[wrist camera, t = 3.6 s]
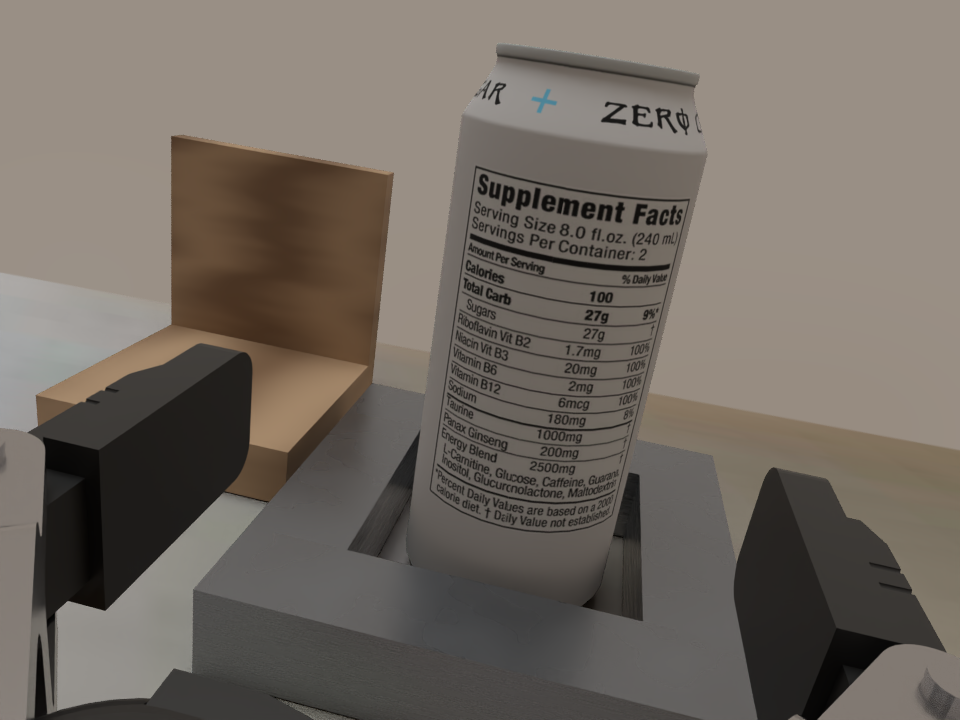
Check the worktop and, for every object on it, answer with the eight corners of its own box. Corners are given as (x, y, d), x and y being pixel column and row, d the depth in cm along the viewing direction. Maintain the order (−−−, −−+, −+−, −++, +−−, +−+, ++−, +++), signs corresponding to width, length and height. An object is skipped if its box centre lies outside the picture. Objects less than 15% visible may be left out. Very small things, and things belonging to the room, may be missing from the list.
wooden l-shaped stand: (39, 447, 26) (18, 152, 23) (181, 360, 35) (182, 134, 31) (284, 505, 25) (302, 206, 22) (370, 401, 34) (393, 172, 30)
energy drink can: (600, 544, 26) (713, 79, 20) (591, 670, 20) (742, 77, 15) (429, 504, 27) (495, 46, 21) (375, 615, 21) (445, 31, 16)
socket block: (192, 674, 18) (193, 589, 17) (366, 440, 30) (372, 383, 29) (742, 822, 17) (774, 738, 16) (695, 513, 29) (712, 455, 28)
